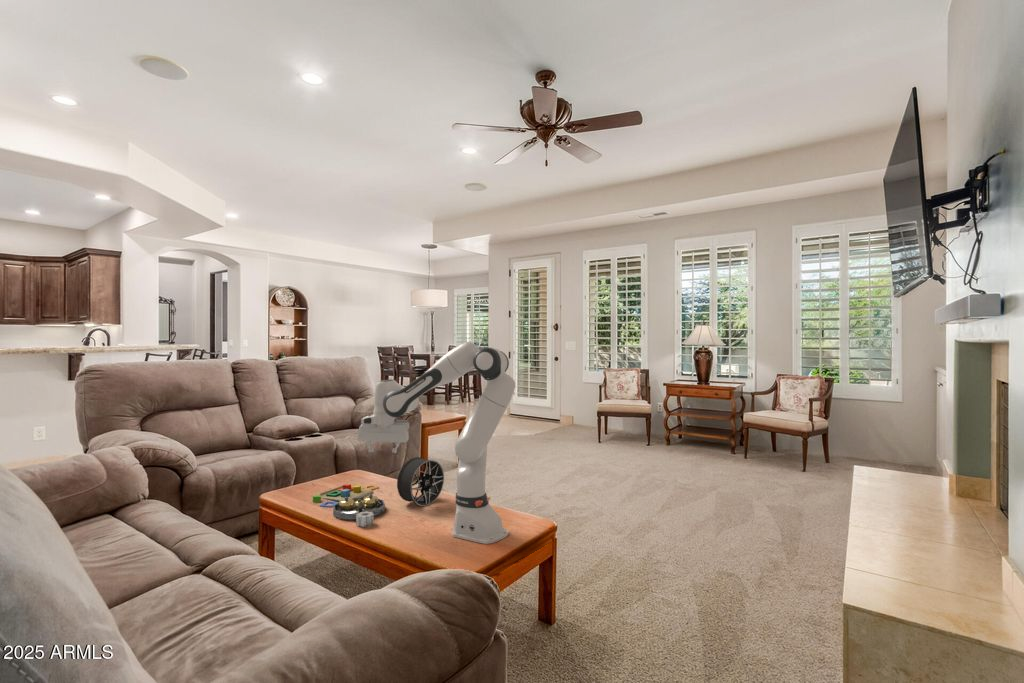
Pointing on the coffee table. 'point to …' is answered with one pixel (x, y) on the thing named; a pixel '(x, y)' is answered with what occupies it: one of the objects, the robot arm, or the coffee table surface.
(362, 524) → the planet gear
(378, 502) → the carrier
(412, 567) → the coffee table surface
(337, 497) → the shape sorter
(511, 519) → the coffee table surface
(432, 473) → the wheel rim
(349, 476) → the coffee table surface
